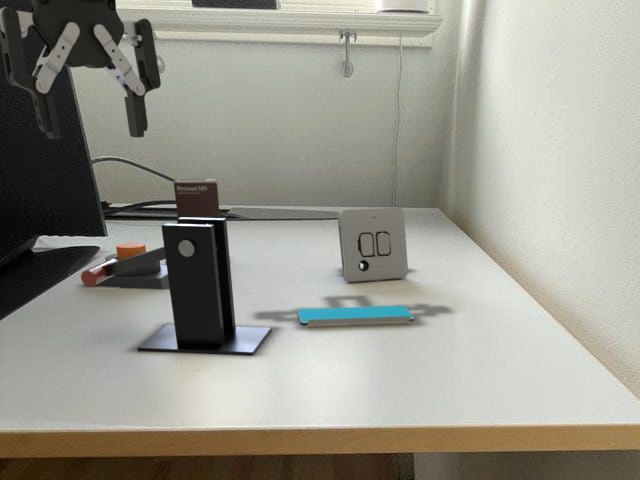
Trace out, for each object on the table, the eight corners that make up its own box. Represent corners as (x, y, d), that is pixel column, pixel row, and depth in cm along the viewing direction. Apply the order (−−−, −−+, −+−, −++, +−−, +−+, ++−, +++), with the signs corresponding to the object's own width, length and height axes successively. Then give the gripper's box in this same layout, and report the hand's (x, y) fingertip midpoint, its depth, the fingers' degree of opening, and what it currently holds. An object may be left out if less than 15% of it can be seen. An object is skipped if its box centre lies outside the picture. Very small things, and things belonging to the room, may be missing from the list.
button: (113, 261, 84) (111, 247, 83) (125, 256, 87) (122, 242, 86) (140, 262, 84) (138, 248, 83) (151, 257, 87) (149, 243, 86)
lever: (87, 293, 61) (75, 267, 59) (113, 280, 65) (102, 256, 64) (206, 257, 58) (196, 229, 57) (224, 246, 63) (214, 220, 62)
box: (183, 272, 96) (172, 181, 90) (183, 266, 99) (172, 178, 93) (225, 270, 97) (217, 180, 91) (224, 264, 101) (216, 178, 95)
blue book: (426, 303, 81) (427, 290, 80) (453, 332, 70) (454, 316, 70) (262, 309, 78) (261, 294, 77) (264, 339, 68) (263, 323, 67)
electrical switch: (346, 284, 90) (343, 210, 86) (334, 279, 94) (331, 209, 90) (409, 279, 93) (409, 208, 89) (394, 275, 97) (394, 207, 93)
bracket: (138, 360, 62) (116, 227, 56) (168, 335, 69) (151, 214, 63) (253, 364, 61) (243, 229, 55) (272, 339, 68) (265, 216, 62)
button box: (86, 293, 84) (80, 261, 82) (113, 279, 91) (108, 249, 89) (163, 296, 83) (158, 263, 81) (183, 281, 90) (180, 251, 88)
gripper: (124, -47, 66) (147, 136, 74) (-34, -70, 58) (12, 137, 66) (156, -60, 61) (178, 138, 69) (-12, -87, 53) (35, 140, 61)
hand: (96, 138), depth 67 cm, fingers open, 8 cm apart
